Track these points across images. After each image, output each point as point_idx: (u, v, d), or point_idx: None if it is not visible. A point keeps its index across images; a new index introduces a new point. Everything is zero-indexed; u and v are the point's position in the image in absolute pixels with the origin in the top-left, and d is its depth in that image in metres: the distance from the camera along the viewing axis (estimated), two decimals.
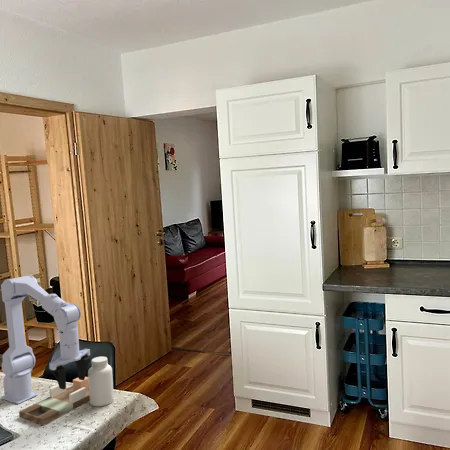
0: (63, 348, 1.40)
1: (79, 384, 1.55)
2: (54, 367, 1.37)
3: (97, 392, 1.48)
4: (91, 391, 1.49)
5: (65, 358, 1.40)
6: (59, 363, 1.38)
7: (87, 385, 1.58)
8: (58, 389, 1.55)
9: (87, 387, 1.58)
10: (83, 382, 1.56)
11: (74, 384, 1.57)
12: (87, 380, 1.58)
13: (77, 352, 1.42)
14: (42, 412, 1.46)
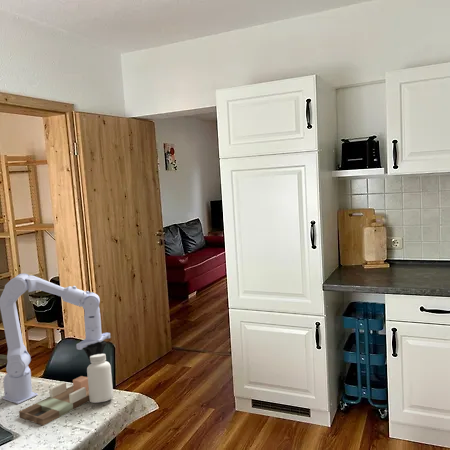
0: (88, 331, 1.60)
1: (79, 384, 1.55)
2: (80, 347, 1.57)
3: (97, 387, 1.49)
4: (91, 387, 1.49)
5: (90, 340, 1.60)
6: (85, 344, 1.58)
7: (87, 385, 1.58)
8: (58, 389, 1.55)
9: (87, 387, 1.58)
10: (83, 382, 1.56)
11: (74, 384, 1.57)
12: (87, 380, 1.58)
13: (100, 334, 1.62)
14: (42, 412, 1.46)
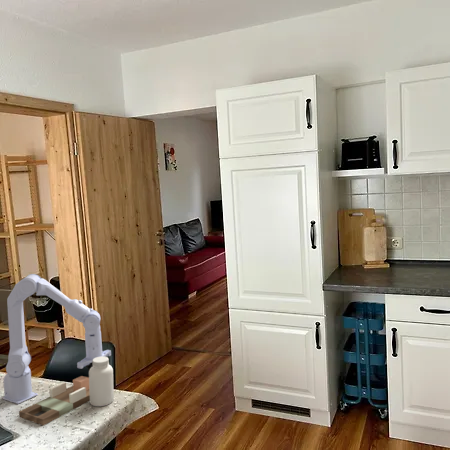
0: (88, 349, 1.60)
1: (79, 384, 1.55)
2: (81, 366, 1.57)
3: (99, 392, 1.48)
4: (93, 391, 1.48)
5: (90, 358, 1.60)
6: (85, 362, 1.58)
7: (87, 385, 1.58)
8: (58, 389, 1.55)
9: (87, 387, 1.58)
10: (83, 382, 1.56)
11: (74, 384, 1.57)
12: (87, 380, 1.58)
13: (100, 353, 1.62)
14: (42, 412, 1.46)
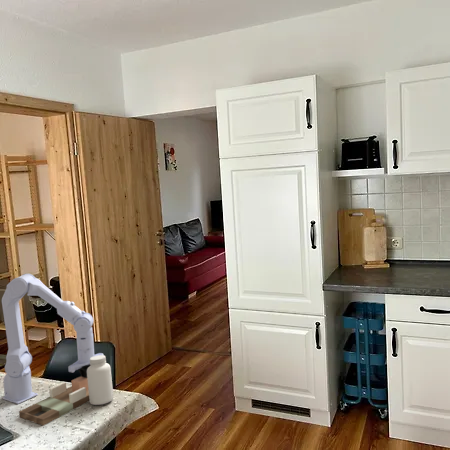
0: (80, 353, 1.57)
1: (78, 384, 1.55)
2: (73, 370, 1.54)
3: (99, 390, 1.48)
4: (92, 390, 1.49)
5: (82, 361, 1.57)
6: (77, 366, 1.55)
7: (86, 385, 1.57)
8: (58, 389, 1.55)
9: (86, 388, 1.57)
10: (82, 383, 1.56)
11: (72, 385, 1.56)
12: (86, 381, 1.57)
13: (92, 356, 1.59)
14: (42, 412, 1.46)
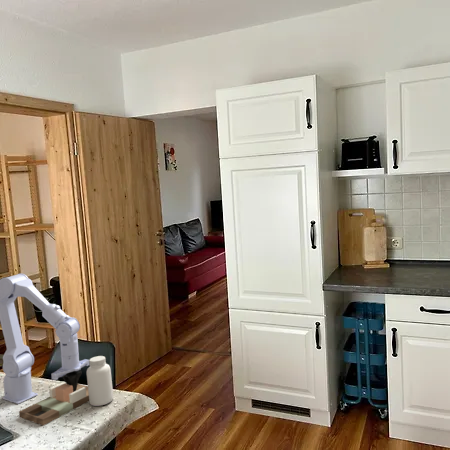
0: (64, 359, 1.51)
1: (62, 392, 1.49)
2: (56, 377, 1.48)
3: (99, 391, 1.48)
4: (93, 391, 1.48)
5: (66, 368, 1.51)
6: (60, 373, 1.49)
7: (70, 393, 1.51)
8: None
9: None
10: (66, 390, 1.50)
11: (56, 393, 1.50)
12: (70, 388, 1.51)
13: (77, 363, 1.53)
14: (42, 412, 1.46)
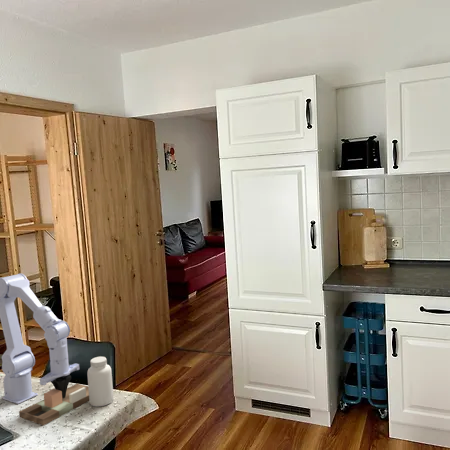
0: (53, 364, 1.47)
1: (50, 398, 1.45)
2: (44, 382, 1.44)
3: (101, 392, 1.48)
4: (94, 392, 1.48)
5: (55, 373, 1.47)
6: (49, 378, 1.45)
7: (59, 398, 1.47)
8: None
9: (59, 401, 1.47)
10: (54, 396, 1.46)
11: (44, 398, 1.47)
12: (59, 394, 1.47)
13: (66, 367, 1.49)
14: (42, 412, 1.46)
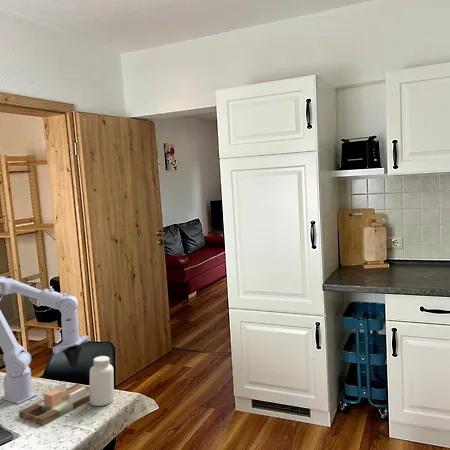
0: (65, 334, 1.57)
1: (50, 398, 1.45)
2: (57, 350, 1.54)
3: (102, 391, 1.48)
4: (95, 391, 1.48)
5: (67, 343, 1.58)
6: (61, 347, 1.55)
7: (59, 399, 1.47)
8: (58, 389, 1.55)
9: (59, 401, 1.47)
10: (54, 396, 1.46)
11: (44, 398, 1.47)
12: (59, 394, 1.47)
13: (77, 338, 1.59)
14: (42, 412, 1.46)
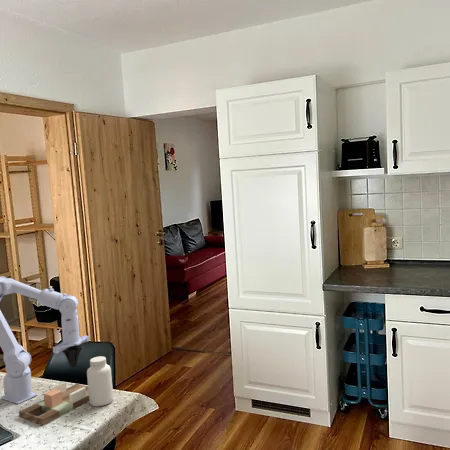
0: (65, 334, 1.57)
1: (50, 398, 1.45)
2: (57, 350, 1.54)
3: (101, 391, 1.48)
4: (94, 392, 1.48)
5: (67, 343, 1.58)
6: (61, 347, 1.55)
7: (59, 399, 1.47)
8: (58, 389, 1.55)
9: (59, 401, 1.47)
10: (54, 396, 1.46)
11: (44, 398, 1.47)
12: (59, 394, 1.47)
13: (77, 338, 1.59)
14: (42, 412, 1.46)
